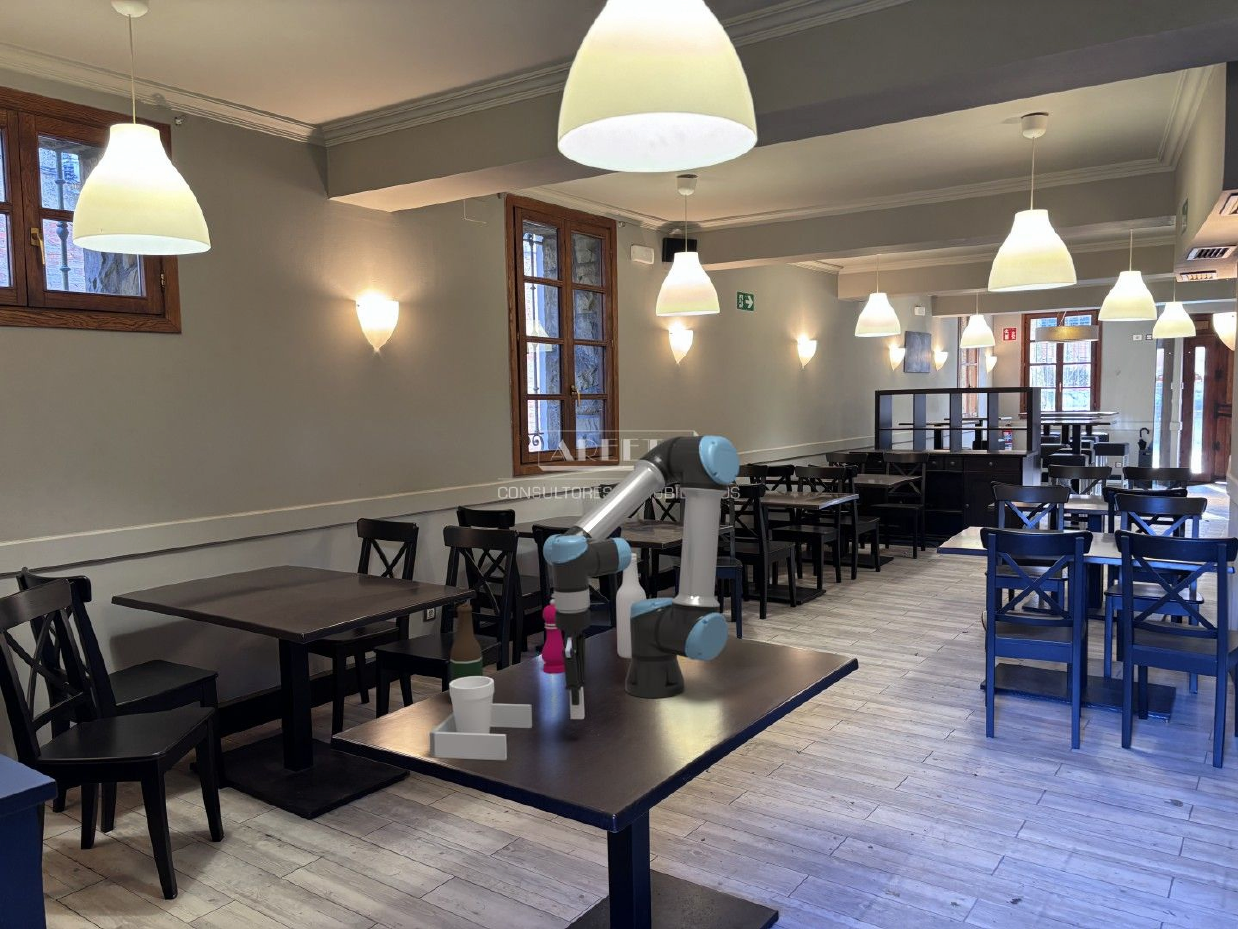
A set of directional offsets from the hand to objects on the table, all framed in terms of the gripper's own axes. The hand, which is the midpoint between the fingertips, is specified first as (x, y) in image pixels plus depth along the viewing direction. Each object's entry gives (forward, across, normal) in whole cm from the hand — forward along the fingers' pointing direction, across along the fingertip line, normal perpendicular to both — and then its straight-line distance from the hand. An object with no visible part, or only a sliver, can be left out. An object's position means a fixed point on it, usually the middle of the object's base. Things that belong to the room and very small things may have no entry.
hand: (577, 717), depth 183 cm
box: (+5, +2, -20) cm, 21 cm away
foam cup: (+5, +3, -22) cm, 23 cm away
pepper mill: (+6, -52, -18) cm, 56 cm away
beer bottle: (+5, -24, -33) cm, 41 cm away
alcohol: (+7, -70, +1) cm, 71 cm away
